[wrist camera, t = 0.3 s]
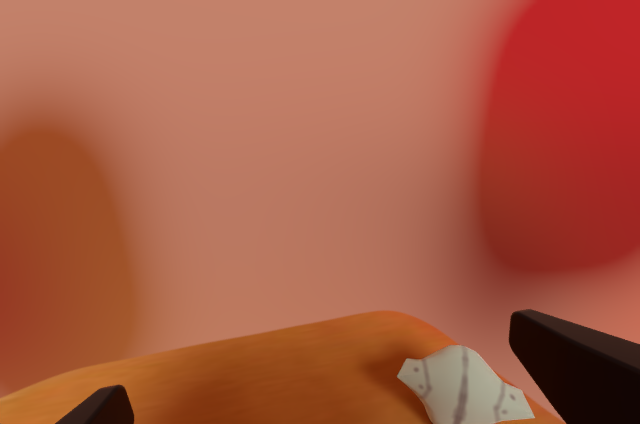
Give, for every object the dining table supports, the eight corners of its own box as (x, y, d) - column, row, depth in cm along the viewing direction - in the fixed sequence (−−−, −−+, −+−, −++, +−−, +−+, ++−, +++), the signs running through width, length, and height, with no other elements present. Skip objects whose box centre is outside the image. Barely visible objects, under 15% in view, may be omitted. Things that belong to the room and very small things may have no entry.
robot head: (388, 433, 22) (398, 360, 19) (396, 386, 25) (405, 319, 23) (518, 480, 19) (548, 402, 17) (506, 420, 23) (528, 348, 20)
